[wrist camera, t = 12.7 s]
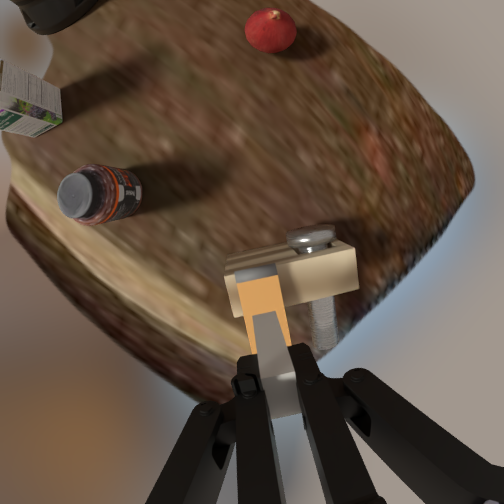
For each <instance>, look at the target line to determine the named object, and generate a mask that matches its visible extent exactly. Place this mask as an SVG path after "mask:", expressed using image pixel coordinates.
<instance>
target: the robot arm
mask: <svg viewBox="0 0 504 504" xmlns="http://www.w3.org/2000/svg"><path fill="white" fill-rule="evenodd" d="M10 1H12V2H13V3H15V4H16V5H17V6H18V7H19V9H20V11H21V13H22V15H23V17H24V20H25V22H26V24H27V26H28V27H29V28H30V29H31V30H32V31H34V32H35V33H37V34H39V35H48V34H52V33H55V32H58V31H60V30H62V29H64V28H66V27H67V26H69V25H71V24H72V23H74V22H75V21H76V20H78V19H79V18H80V17H82V16H83V15H84V14H85V13H86V12H87V11H88V10H89V9H90V8H91V7H92V6H93V5H94V4H95V3H96V2H97V1H98V0H10ZM252 319H253V326H254V334H255V341H256V348H257V354H252V355H247V356H242V357H240V358H239V360H238V362H237V375H236V376H234V377H233V379H232V380H231V385H232V388H233V391H234V394H235V397H234V398H233V399H232V400H230V401H229V402H227V403H224V404H221V405H219V404H218V403H217V402H214V401H205V402H202V403H199V404H198V405H196V406H195V408H194V409H193V410H192V413H191V415H190V416H189V418H188V420H187V422H186V424H185V426H184V428H183V430H182V433H181V434H180V436H179V438H178V440H177V442H176V444H175V446H174V448H173V450H172V452H171V454H170V456H169V458H168V460H167V462H166V464H165V466H164V468H163V470H162V472H161V474H160V476H159V478H158V480H157V482H156V483H155V486H154V487H153V490H152V491H151V493H150V495H149V497H148V499H147V501H146V503H145V504H216V502H217V499H218V496H219V493H220V490H221V487H222V484H223V481H224V478H225V475H226V471H227V468H228V465H229V462H230V459H231V455H232V452H233V449H234V446H235V442H236V456H237V484H238V485H237V486H238V504H286V500H285V494H284V488H283V482H282V476H281V471H280V465H279V459H278V453H277V447H276V442H275V435H274V430H273V425H272V421H271V419H275V418H280V417H285V416H290V415H294V414H298V413H302V417H303V423H304V429H305V430H306V432H307V436H308V439H309V443H310V447H311V450H312V453H313V457H314V461H315V464H316V468H317V471H318V475H319V479H320V482H321V486H322V489H323V493H324V497H325V500H326V504H387V503H386V501H385V499H384V498H383V497H381V496H379V495H378V494H377V492H376V489H375V487H374V485H373V483H372V480H371V478H370V476H369V473H368V471H367V469H366V466H365V465H364V462H363V459H362V457H361V455H360V453H359V450H358V448H357V446H356V444H355V441H354V439H353V437H352V435H351V432H350V430H349V428H348V426H347V424H346V422H347V423H348V424H349V425H350V426H351V427H352V428H353V429H354V430H355V431H356V433H357V434H358V435H359V436H360V437H361V438H362V439H363V440H364V441H365V442H366V443H367V444H368V445H369V446H370V448H371V449H372V450H373V451H374V452H375V453H376V454H377V455H378V456H379V457H380V458H381V459H382V460H383V461H384V462H385V463H386V464H387V465H388V466H389V468H390V469H391V470H392V471H393V472H394V473H395V474H396V475H397V476H398V477H399V478H400V479H401V480H402V481H403V482H404V483H405V484H406V485H407V486H408V487H409V488H410V489H411V490H412V491H413V492H414V493H415V494H416V495H417V496H418V497H419V498H420V499H421V500H422V501H423V502H424V503H425V504H504V467H500V466H496V465H492V464H490V463H489V462H488V461H486V460H485V459H483V458H482V457H481V456H479V455H478V454H477V453H475V452H474V451H473V450H471V449H470V448H469V447H467V446H466V445H465V444H463V443H462V442H460V441H459V440H458V439H457V438H455V437H454V436H452V435H451V434H450V433H449V432H447V431H446V430H445V429H443V428H442V427H441V426H439V425H438V424H437V423H436V422H434V421H433V420H431V419H430V418H429V417H428V416H426V415H425V414H424V413H422V412H421V411H420V410H419V409H417V408H416V407H415V406H413V405H412V404H411V403H409V402H408V401H407V400H406V399H404V398H403V397H402V396H401V395H399V394H398V393H397V392H395V391H394V390H393V389H392V388H390V387H389V386H388V385H386V384H385V383H384V382H383V381H381V380H380V379H379V378H378V377H376V376H375V375H374V374H373V373H371V372H370V371H369V370H366V369H363V368H355V369H351V370H349V371H348V372H346V373H345V374H344V376H343V378H328V377H326V376H324V374H323V373H321V372H320V370H319V368H318V365H317V363H316V361H315V359H314V357H313V354H312V352H311V350H310V348H309V346H308V345H306V344H305V343H300V344H295V345H291V346H287V345H286V342H285V339H284V336H283V333H282V330H281V327H280V323H279V320H278V317H277V314H276V311H272V312H268V313H263V314H258V315H253V316H252ZM344 418H345V419H344ZM345 420H346V421H345Z"/></svg>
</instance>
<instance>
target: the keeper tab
mask: <svg viewBox="0 0 504 504" xmlns="http://www.w3.org/2000/svg"><path fill="white" fill-rule="evenodd" d="M234 274H235V280H236V284H237V288H238V293H239V297H240V302H241V306H242V311H243V315H244V320H245V324H246V328H247V333H248V337H249V341H250V346H251V350H252V354H257V348H256V341H255V334H254V326H253V319H252V316H253V315H258V314H263V313H268V312H272V311H276V314H277V317H278V320H279V323H280V327H281V330H282V333H283V336H284V339H285V342H286V345H287V346H291V340H290V334H289V329H288V324H287V319H286V314H285V309H284V304H283V298H282V293H281V288H280V283H279V278H278V273H277V268H276V264H275V263H272V264H267V265H263V266H258V267H253V268H248V269H244V270H239V271H234Z"/></svg>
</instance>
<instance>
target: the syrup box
mask: <svg viewBox="0 0 504 504" xmlns="http://www.w3.org/2000/svg"><path fill="white" fill-rule="evenodd" d="M62 122H63V120H62V108H61V96H60V89H59V88H57V87H56V86H53V85H52V84H50V83H48V82H46V81H44V80H42V79H40V78H38V77H37V76H35V75H33V74H30V73H29V72H26V71H25V70H23V69H21V68H19V67H17V66H15V65H13V64H11V63H9V62H7V61H5V60H3V59H1V58H0V130H3V131H7V132H12V133H17V134H21V135H26V136H30V137H37V136H38V135H40V134H42V133H44V132H46V131H47V130H49V129H51V128H53V127H55V126H57V125H58V124H60V123H62Z"/></svg>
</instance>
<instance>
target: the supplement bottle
mask: <svg viewBox="0 0 504 504" xmlns="http://www.w3.org/2000/svg"><path fill="white" fill-rule="evenodd" d="M57 200H58V205H59V207H60V210H61V211H62V212H63V214H65V215H66V216H67V217H69V218H73V219H74V220H75V221H76V222H78V223H80V224H82V225H87V226H91V225H97V224H102V223H106V222H110V221H114V220H119V219H123V218H126V217H128V216H130V215H132V214H133V213H134V212H135V211H136V210H137V209H138V207H139V205H140V203H141V200H142V185H141V183H140V181H139V179H138V178H137V176H136V175H135V174H133V173H132V172H130V171H128V170H125V169H120V168H114V167H109V166H104V165H97V164H87V165H84V166H82V167H80V168H79V169H77V170H76V171H75V172H74V173H71V174H69V175H67V176H66V177H65V178H64V179H63V180H62V182H61V184H60V186H59V189H58V194H57Z"/></svg>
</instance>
